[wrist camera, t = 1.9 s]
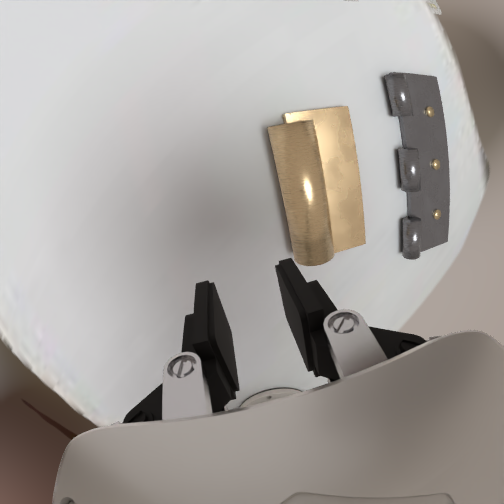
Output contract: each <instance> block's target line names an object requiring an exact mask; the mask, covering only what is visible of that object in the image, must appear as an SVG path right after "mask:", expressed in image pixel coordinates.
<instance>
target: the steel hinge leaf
mask: <svg viewBox="0 0 504 504" xmlns="http://www.w3.org/2000/svg"><path fill="white" fill-rule="evenodd" d="M384 77H385V81H386V85H387V90H388V94H389V99H390V104H391V109H392V115H393V116H399V122H400V128H401V135H402V142H403V148H399V149H398V156H399V166H400V177H401V190H402V191H405V192H407V204H408V217H404V218H403V249H402V255H403V257H404V258H406V259H417V258H419V257H420V252H422V251H425V250H427V249H430V248H433V247H435V246H438V245H440V244H443V243H445V242H448V229H449V206H450V182H449V159H448V146H447V136H446V127H445V120H444V113H443V107H442V101H441V96H440V91H439V86H438V82H437V77H434V76H427V75H418V74H409V73H396V72H393V73H390V74H389V75H385V76H384Z"/></svg>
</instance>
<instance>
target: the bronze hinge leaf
mask: <svg viewBox="0 0 504 504" xmlns="http://www.w3.org/2000/svg"><path fill="white" fill-rule="evenodd" d="M283 119H284V124H281V125H276V126H271V127H267V129H268V133H269V137H270V142H271V146H272V151H273V155H274V159H275V164H276V169H277V173H278V178H279V183H280V187H281V192H282V197H283V202H284V207H285V212H286V217H287V222H288V227H289V233H290V238H291V243H292V249H293V254H294V260H295V261H296V262H297V263H298V264H300V265H304V266H316V265H321V264H324V263H326V262H328V261H330V260H331V259H332V258H333V257H334V253H337V252H340V251H343V250H347V249H350V248H353V247H356V246H360V245H363V244H366V243H365V226H364V213H363V202H362V192H361V183H360V175H359V167H358V160H357V154H356V147H355V141H354V135H353V130H352V124H351V119H350V114H349V109H348V106H344V107H334V108H324V109H316V110H308V111H301V112H295V113H288V114H284V115H283Z"/></svg>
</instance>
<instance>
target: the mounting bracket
mask: <svg viewBox="0 0 504 504" xmlns="http://www.w3.org/2000/svg"><path fill="white" fill-rule="evenodd" d="M345 1H358V0H345ZM427 2H428V3H429V5H430V6H431V8H432V10H433V11H434V13H435V14H438V15H441V14H442V13H441V10H440V8H439V6H438V4H437V2H436V0H427Z"/></svg>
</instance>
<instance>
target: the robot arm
mask: <svg viewBox="0 0 504 504" xmlns="http://www.w3.org/2000/svg"><path fill="white" fill-rule="evenodd" d="M275 268H276V273H277V277H278V282H279V287H280V291H281V296H282V301H283V306H284V310H285V315H286V318H287V321H288V323H289V326H290V328H291V331H292V333H293V336H294V338H295V341H296V343H297V346H298V348H299V350H300V353H301V355H302V358H303V360H304V363H305V365H306V368H307V370H308V372H309V371H312V370H313V372H314V375H315V377H318V376H323V377H326V378H328V384H325V385H322V386H319V387H316V388H313V389H310V390H306V391H303V392H301V391H299V390H294V389H287V388H286V389H273V390H269V391H265V392H262V393H259V394H257V395H254V396H252V397H251V398H249V399H247V400H246V401H245V402H244V403H243V404H242V405H241V406H240V408H237V409H232V410H228V408H227V406H226V404H227V403H228V402H229V401H230V400H233V399H236V394H235V391H239V383H238V375H237V368H236V361H235V354H234V346H233V338H232V332H231V329H230V326H229V323H228V320H227V318H226V315H225V312H224V310H223V307H222V304H221V301H220V298H219V296H218V293H217V290H216V287H215V284H214V283H209V281H204V282H200V283H196V289H195V302H194V314H190V315H186V316H185V323H184V333H183V343H182V353H179V354H176V355H174V356H173V357H171V358H170V359H169V360H168V361H167V362H166V364H165V366H164V369H163V383H162V384H161V385H159V386H158V387H157V388H156V389H155V390H154V391H153V392H151V393H150V394H149V395H148V396H147V397H146V398H145V399H143V400H142V401H141V402H140V403H139V404H138V405H136V406H135V407H134V408H133V409H132V410H131V411H129V413H128V414H127V415H126V416H125V418H124V421H123V423H120V422H119V421H118V422H116V423H114V424H111V425H109V426H104V427H100V428H95V429H92V430H89V431H87V432H84V433H82V434H80V435H78V436H77V437H75V438H74V439H73V440H72V441H71V442H70V443H69V444H68V446H67V448H66V450H65V452H64V454H63V457H62V460H61V463H60V466H59V470H58V474H57V479H56V484H55V489H54V495H53V503H52V504H504V346H503V345H502V344H500V343H499V342H498V341H497V340H496V339H494V338H493V337H491V336H489V335H488V334H486V333H484V332H481V331H476V330H467V331H460V332H455V333H451V334H447V335H444V336H437V337H429V340H427V341H425V340H424V339H423V338H422V337H420V336H417V335H414V334H408V333H401V332H396V331H390V330H385V329H379V328H374V327H369V326H368V325H367V324H366V322H365V320H364V319H363V317H362V316H361V315H360V314H359V313H358V312H356V311H353V310H347V309H343V310H337V308H336V307H335V306H334V304H333V303H332V301H331V300H330V298H329V297H328V295H327V294H326V292H325V291H324V290H323V288H322V287H321V285H320V284H319V282H318V281H317V280H315V281H311V282H308V283H307V282H306V280H305V279H304V277H303V276H302V274H301V272H300V271H299V269H298V268H297V266H296V265H295V263H294V262H293V260H292V258H288V259H285V260H281V261H279V265H275Z"/></svg>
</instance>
